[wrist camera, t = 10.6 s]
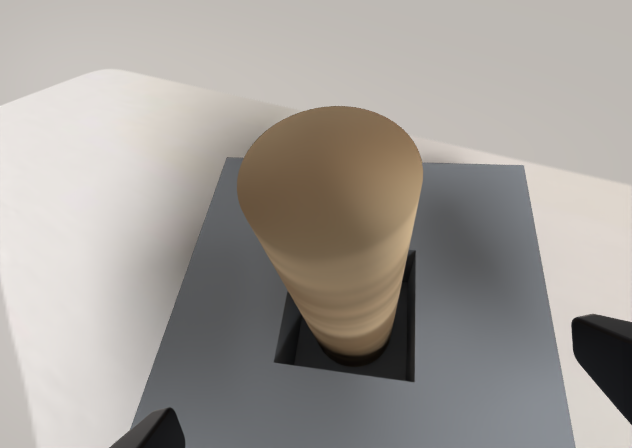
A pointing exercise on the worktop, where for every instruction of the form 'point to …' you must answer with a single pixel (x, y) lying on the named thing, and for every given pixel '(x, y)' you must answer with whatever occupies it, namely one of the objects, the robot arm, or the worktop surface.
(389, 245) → the pin
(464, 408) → the socket block
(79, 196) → the worktop surface
